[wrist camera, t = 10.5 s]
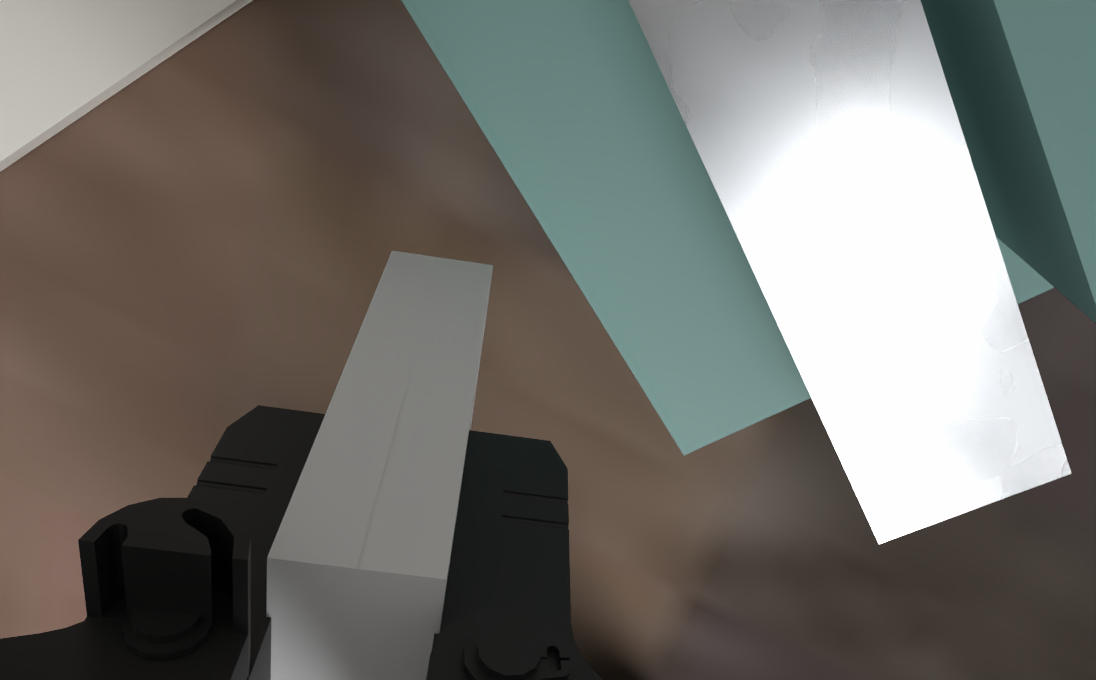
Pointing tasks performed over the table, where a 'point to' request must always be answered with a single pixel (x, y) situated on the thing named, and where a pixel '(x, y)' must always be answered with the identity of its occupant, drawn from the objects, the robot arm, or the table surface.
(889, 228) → the bar
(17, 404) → the table surface
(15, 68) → the door edge
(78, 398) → the table surface
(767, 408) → the keeper
